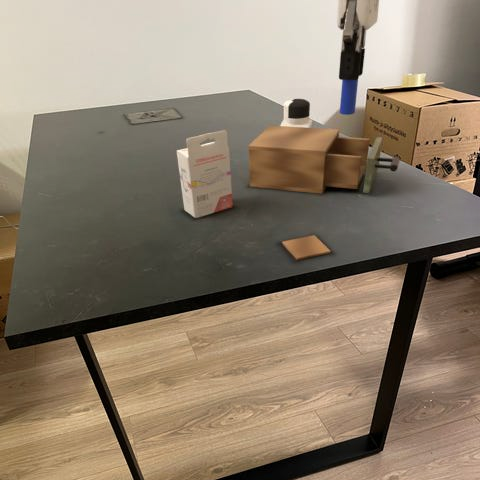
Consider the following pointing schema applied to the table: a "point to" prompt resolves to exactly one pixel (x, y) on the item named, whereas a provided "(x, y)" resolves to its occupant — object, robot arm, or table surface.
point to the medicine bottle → (297, 114)
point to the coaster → (306, 247)
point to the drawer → (354, 163)
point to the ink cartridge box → (205, 174)
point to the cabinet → (290, 158)
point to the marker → (349, 95)
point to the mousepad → (153, 116)
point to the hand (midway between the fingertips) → (350, 76)
